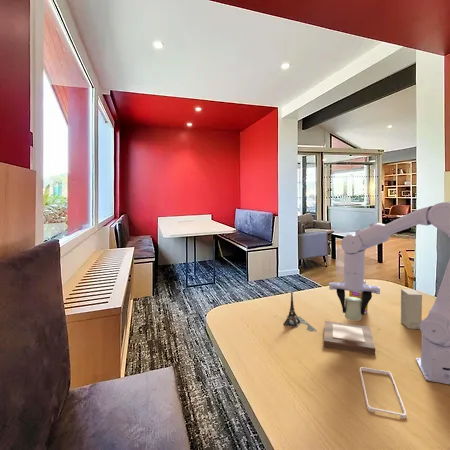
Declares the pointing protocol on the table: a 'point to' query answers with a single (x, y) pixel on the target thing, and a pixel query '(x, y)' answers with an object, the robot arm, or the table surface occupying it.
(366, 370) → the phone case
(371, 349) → the walnut base
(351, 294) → the supplement bottle
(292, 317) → the eiffel tower figurine
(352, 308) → the sage cylinder
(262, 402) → the table surface
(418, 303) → the skincare box
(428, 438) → the table surface
